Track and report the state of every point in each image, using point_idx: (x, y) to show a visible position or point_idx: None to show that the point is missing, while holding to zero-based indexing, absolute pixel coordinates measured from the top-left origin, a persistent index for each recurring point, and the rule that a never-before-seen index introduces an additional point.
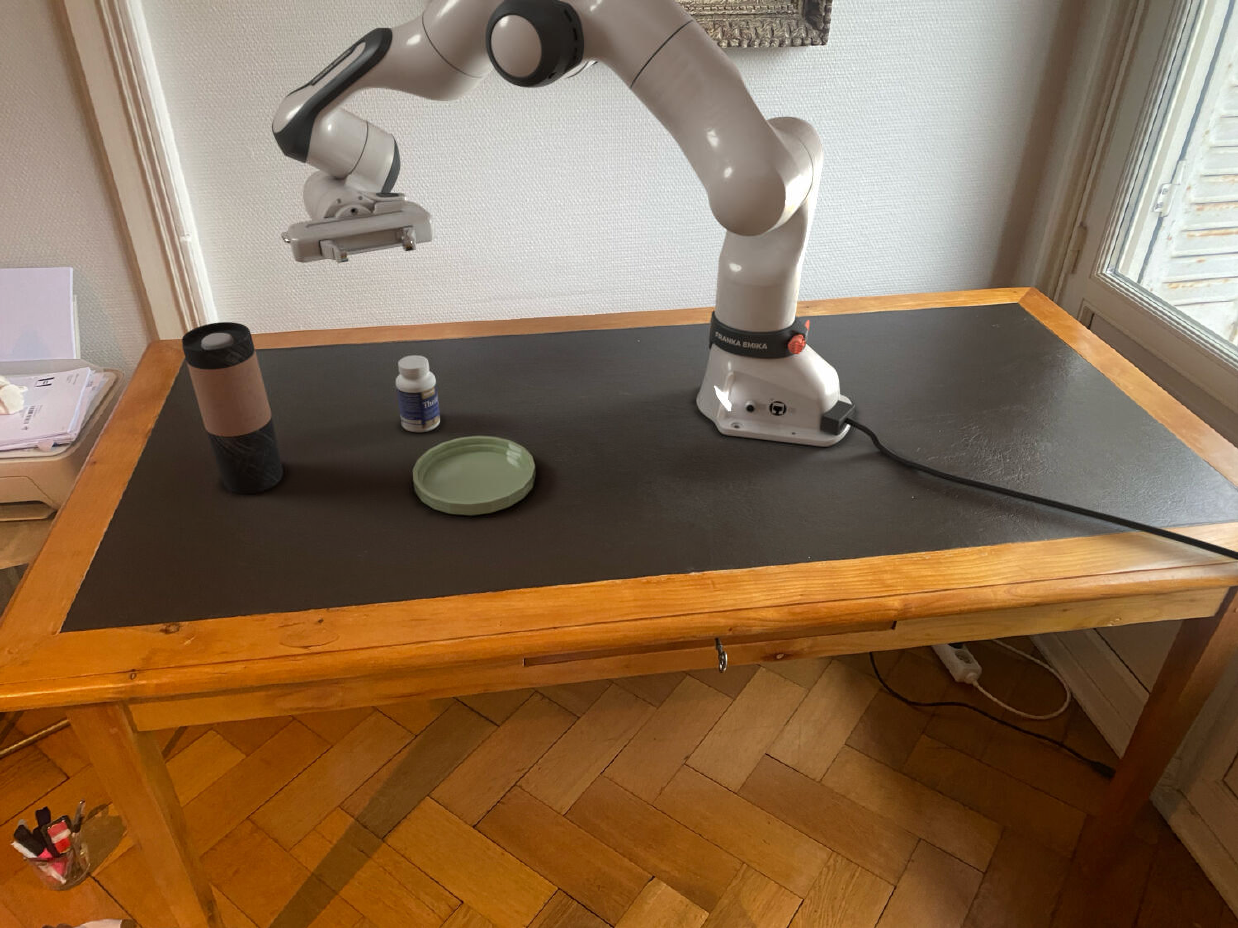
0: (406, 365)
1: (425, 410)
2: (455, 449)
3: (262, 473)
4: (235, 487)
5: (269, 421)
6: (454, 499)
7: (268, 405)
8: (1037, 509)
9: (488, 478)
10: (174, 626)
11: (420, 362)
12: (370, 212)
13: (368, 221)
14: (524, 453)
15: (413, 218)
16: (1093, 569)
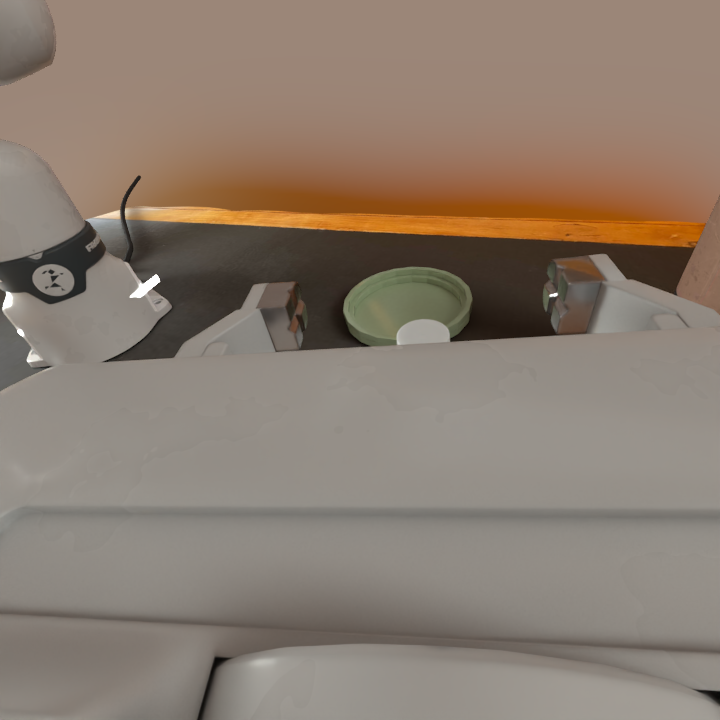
0: (437, 328)
1: None
2: None
3: None
4: None
5: (676, 291)
6: (437, 294)
7: (685, 277)
8: (133, 231)
9: (394, 308)
10: (694, 245)
11: (411, 330)
12: (232, 659)
13: (362, 435)
14: (348, 304)
15: (105, 376)
16: (170, 210)
